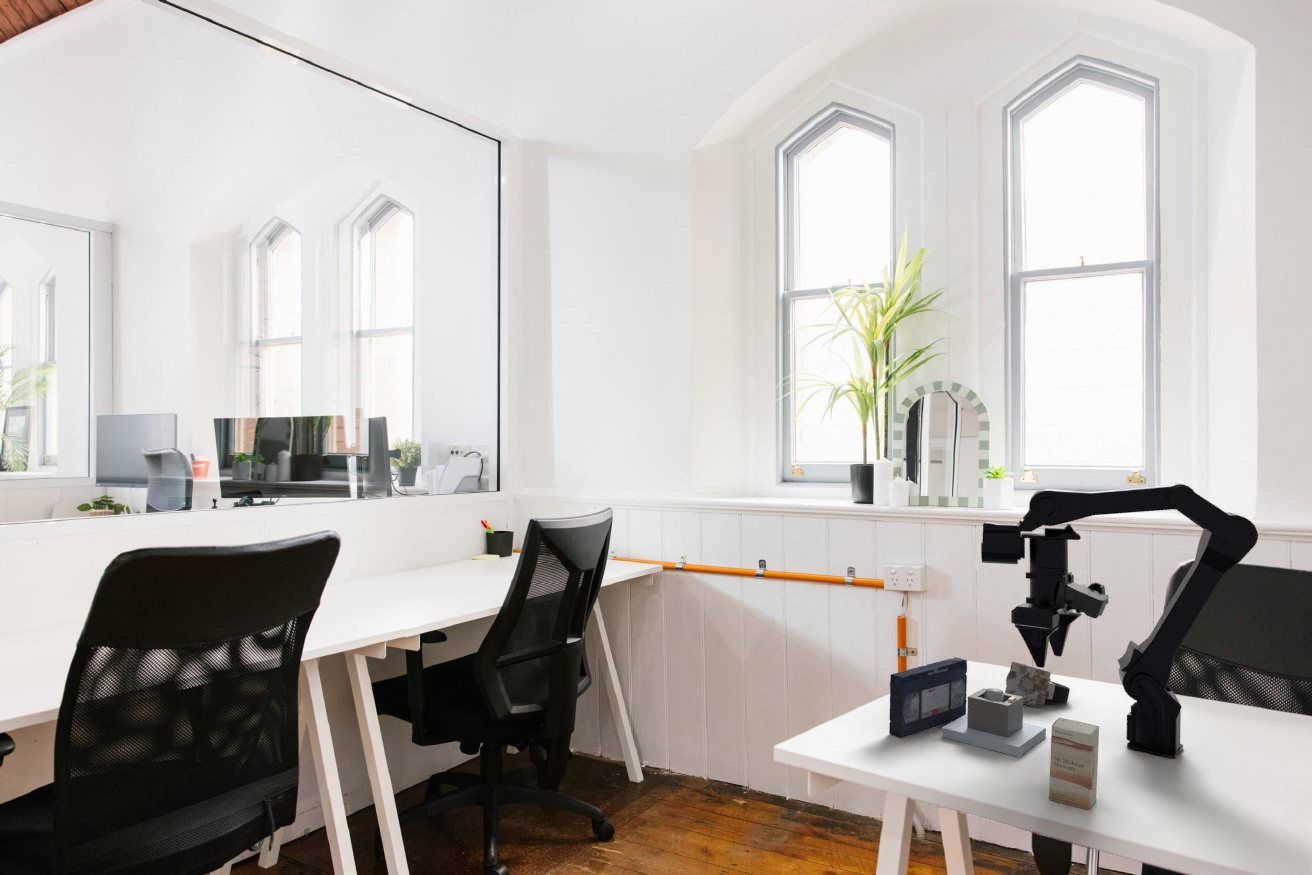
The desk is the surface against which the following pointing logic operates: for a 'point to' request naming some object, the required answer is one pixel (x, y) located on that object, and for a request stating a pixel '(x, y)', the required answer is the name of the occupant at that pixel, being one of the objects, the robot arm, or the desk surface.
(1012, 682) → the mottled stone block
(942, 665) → the vhs cassette tape
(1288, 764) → the desk surface
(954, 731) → the square peg stand
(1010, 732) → the open cubby box
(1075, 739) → the skincare box
